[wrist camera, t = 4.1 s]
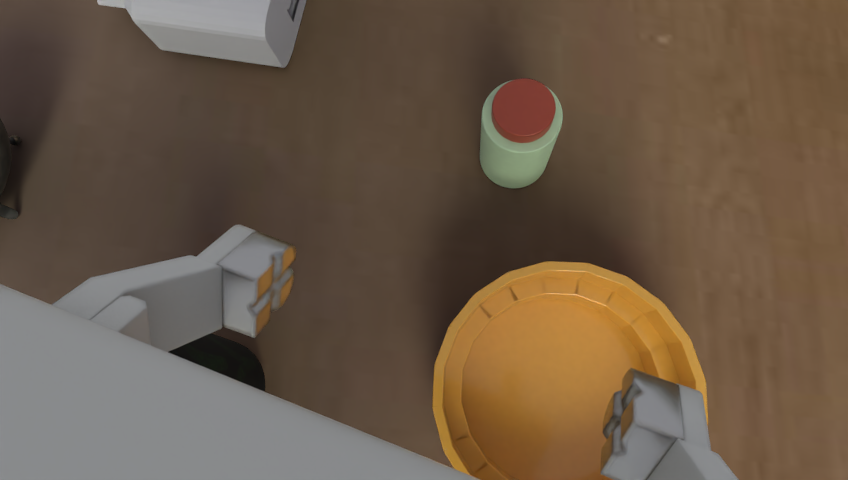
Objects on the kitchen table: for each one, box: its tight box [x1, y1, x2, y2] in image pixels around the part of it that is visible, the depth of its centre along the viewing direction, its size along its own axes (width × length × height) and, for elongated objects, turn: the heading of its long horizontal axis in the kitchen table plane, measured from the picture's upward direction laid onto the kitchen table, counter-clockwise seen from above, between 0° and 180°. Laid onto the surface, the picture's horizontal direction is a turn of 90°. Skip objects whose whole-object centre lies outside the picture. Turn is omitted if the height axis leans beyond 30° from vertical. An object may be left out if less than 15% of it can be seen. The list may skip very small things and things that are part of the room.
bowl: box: [432, 261, 708, 480], centre depth 30 cm, size 13×13×5 cm
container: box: [480, 78, 563, 188], centre depth 32 cm, size 4×4×7 cm
